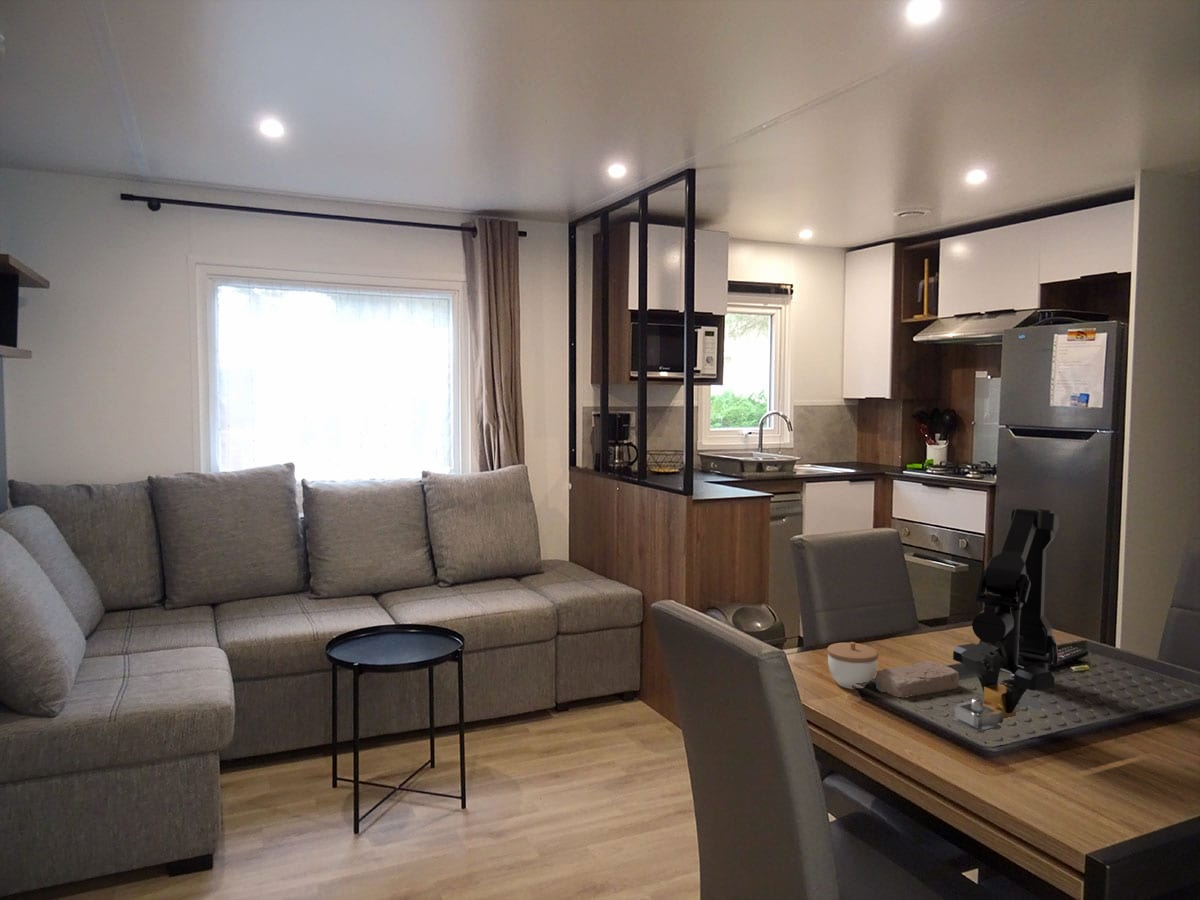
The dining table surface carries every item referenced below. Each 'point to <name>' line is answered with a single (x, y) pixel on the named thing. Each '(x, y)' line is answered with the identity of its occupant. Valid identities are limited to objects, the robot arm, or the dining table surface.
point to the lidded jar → (852, 663)
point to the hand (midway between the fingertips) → (999, 708)
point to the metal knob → (977, 709)
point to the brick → (917, 679)
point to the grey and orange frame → (986, 708)
